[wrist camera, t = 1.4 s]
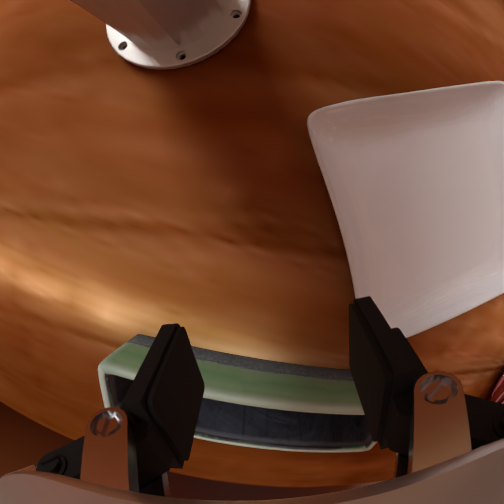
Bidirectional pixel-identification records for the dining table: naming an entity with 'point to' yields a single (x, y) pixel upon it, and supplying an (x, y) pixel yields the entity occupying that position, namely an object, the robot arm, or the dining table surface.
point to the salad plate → (418, 198)
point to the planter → (258, 400)
